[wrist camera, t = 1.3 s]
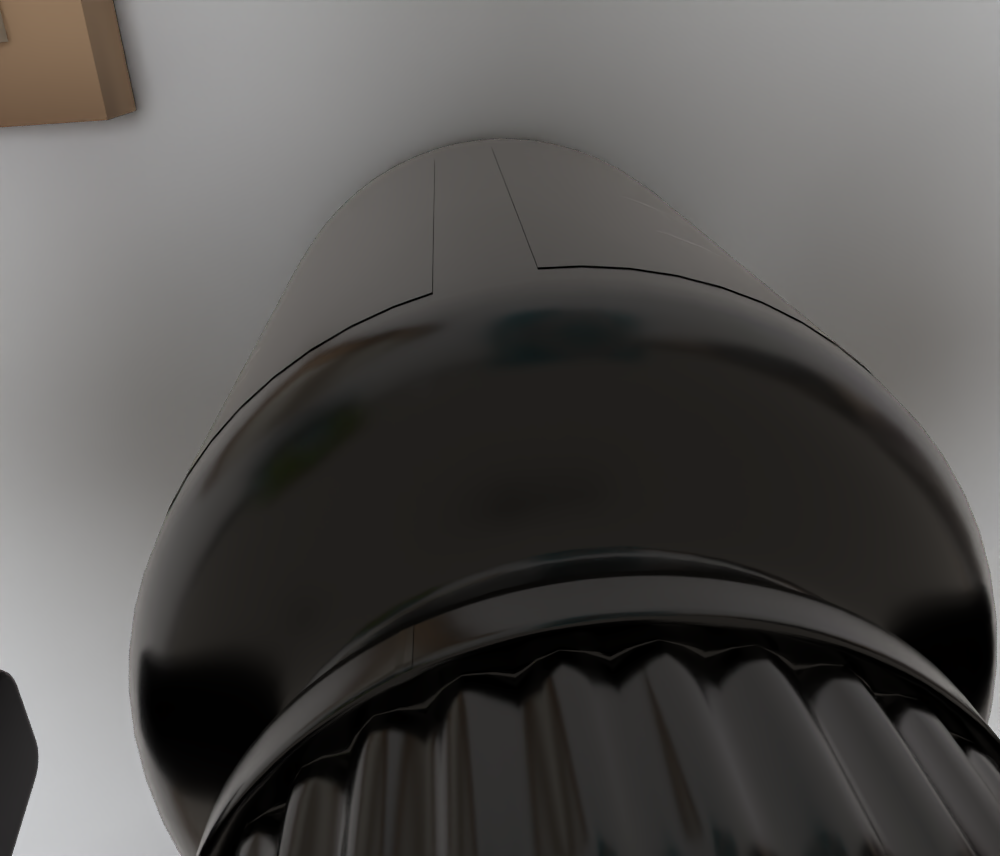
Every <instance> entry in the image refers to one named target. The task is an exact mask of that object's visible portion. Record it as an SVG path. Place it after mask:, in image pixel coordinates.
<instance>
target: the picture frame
mask: <svg viewBox="0 0 1000 856" xmlns="http://www.w3.org/2000/svg"><path fill="white" fill-rule="evenodd" d="M133 111H136V107H135V102H134V97H133V93H132V88H131V83H130V79H129V74H128V69H127V64H126V60H125V55H124V50H123V46H122V41H121V36H120V32H119V27H118V22H117V17H116V13H115V8H114V3H113V0H0V127H11V126H26V125H40V124H55V123H70V122H84V121H99V120H109V119H112V118H115V117H118V116H121V115H124V114H127V113H130V112H133Z"/></svg>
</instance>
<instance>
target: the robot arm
mask: <svg viewBox="0 0 1000 856" xmlns="http://www.w3.org/2000/svg"><path fill="white" fill-rule="evenodd" d="M37 768H38V747H37V743H36V739H35V736H34V733H33V730H32V728H31V725H30V722H29V719H28V716H27V713H26V710H25V707H24V704H23V702H22V699H21V696H20V693H19V690H18V687H17V685H16V682H15V680H14V679H13V677H12V676H11V675H10V674H9V673H7V672H5V671H3V670H0V856H12V853H13V850H14V847H15V844H16V840H17V837H18V834H19V830H20V827H21V824H22V821H23V817H24V814H25V811H26V807H27V804H28V801H29V798H30V794H31V791H32V788H33V784H34V781H35V778H36V774H37Z"/></svg>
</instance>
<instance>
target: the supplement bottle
mask: <svg viewBox="0 0 1000 856" xmlns="http://www.w3.org/2000/svg"><path fill="white" fill-rule="evenodd" d="M996 667H997V620H996V611H995V603H994V595H993V588H992V580H991V574H990V569H989V565H988V561H987V557H986V554H985V550H984V546H983V542H982V539H981V535H980V531H979V528H978V526H977V523H976V521H975V518H974V516H973V513H972V511H971V508H970V506H969V504H968V501H967V499H966V496H965V494H964V492H963V490H962V488H961V486H960V484H959V483H958V481H957V479H956V477H955V476H954V474H953V472H952V470H951V469H950V467H949V465H948V463H947V462H946V460H945V458H944V456H943V454H942V453H941V452H940V450H939V449H938V448H937V446H936V445H935V444H934V442H933V441H932V440H931V438H930V437H929V436H928V434H927V433H926V432H925V430H924V429H923V428H922V426H921V425H920V424H919V422H918V421H917V420H916V419H915V418H914V417H913V416H912V415H911V414H910V413H909V412H908V411H907V410H906V409H905V408H904V406H903V405H902V404H901V403H900V402H899V401H898V400H897V399H896V398H895V397H894V396H893V395H892V394H891V393H890V392H889V391H888V390H887V389H886V388H885V387H884V386H883V385H882V384H881V383H880V382H879V381H878V380H877V379H876V378H875V377H874V376H873V375H872V374H871V373H870V372H869V371H868V370H867V369H866V368H865V367H864V366H863V365H862V364H861V363H860V362H858V361H857V360H856V359H855V358H854V357H852V356H851V355H850V354H849V353H848V352H846V351H845V350H844V349H843V348H842V347H840V346H839V345H838V344H837V343H836V342H834V341H833V340H832V339H831V338H830V337H828V336H827V335H826V334H825V333H824V332H822V331H821V330H820V329H819V328H817V327H816V326H815V325H814V324H813V323H811V322H810V321H809V320H808V319H807V318H805V317H804V316H803V315H802V314H800V313H799V312H798V311H797V310H796V309H794V308H793V307H792V306H791V305H790V304H788V303H787V302H786V301H785V300H784V299H782V298H781V297H780V296H779V295H777V294H776V293H775V292H774V291H773V290H771V289H770V288H769V287H768V286H767V285H765V284H764V283H763V282H762V281H760V280H759V279H758V278H757V277H756V276H754V275H753V274H752V273H751V272H750V271H748V270H747V269H746V268H745V267H744V266H742V265H741V264H740V263H739V262H737V261H736V260H735V259H734V258H733V257H731V256H730V255H729V254H728V253H727V252H725V251H724V250H723V249H722V248H720V247H719V246H718V245H717V244H716V243H714V242H713V241H712V240H711V239H710V238H708V237H707V236H706V235H705V234H704V233H702V232H701V231H700V230H699V229H697V228H696V227H695V226H694V225H693V224H691V223H690V222H689V221H688V220H687V219H685V218H684V217H683V216H682V215H680V214H679V213H678V212H677V211H676V210H674V209H673V208H672V207H671V206H670V205H668V204H667V203H666V202H665V201H663V200H662V199H661V198H660V197H659V196H657V195H656V194H655V193H654V192H652V191H651V190H650V189H648V188H647V187H645V186H644V185H642V184H641V183H640V182H638V181H637V180H635V179H634V178H632V177H631V176H629V175H627V174H626V173H624V172H623V171H621V170H620V169H618V168H616V167H614V166H612V165H610V164H608V163H606V162H604V161H602V160H600V159H598V158H596V157H593V156H590V155H588V154H585V153H583V152H580V151H578V150H574V149H571V148H567V147H563V146H560V145H556V144H552V143H546V142H540V141H534V140H523V139H507V138H506V139H483V140H476V141H469V142H462V143H457V144H453V145H449V146H445V147H442V148H438V149H435V150H432V151H429V152H426V153H424V154H421V155H418V156H415V157H413V158H411V159H409V160H407V161H405V162H403V163H401V164H399V165H397V166H395V167H393V168H391V169H390V170H388V171H387V172H385V173H383V174H382V175H380V176H378V177H377V178H375V179H374V180H373V181H371V182H370V183H369V184H367V185H366V186H365V187H363V188H362V189H361V190H360V191H358V192H357V193H356V194H354V195H353V196H352V197H351V198H350V199H349V200H348V201H347V202H346V203H345V204H344V205H343V206H342V207H341V208H340V209H339V210H338V211H337V212H336V213H335V214H334V215H333V216H332V218H331V219H330V220H329V221H328V222H327V223H326V225H325V226H324V227H323V228H322V230H321V231H320V232H319V234H318V235H317V237H316V238H315V240H314V241H313V243H312V244H311V246H310V247H309V249H308V250H307V252H306V254H305V255H304V257H303V258H302V260H301V261H300V263H299V265H298V267H297V269H296V271H295V272H294V274H293V276H292V278H291V280H290V282H289V283H288V285H287V287H286V289H285V291H284V293H283V295H282V296H281V298H280V300H279V302H278V304H277V306H276V308H275V310H274V311H273V313H272V315H271V317H270V319H269V321H268V323H267V325H266V326H265V328H264V330H263V332H262V334H261V336H260V338H259V340H258V341H257V343H256V345H255V347H254V349H253V351H252V353H251V355H250V356H249V358H248V360H247V362H246V364H245V366H244V368H243V370H242V371H241V373H240V375H239V377H238V379H237V381H236V383H235V385H234V386H233V388H232V390H231V392H230V394H229V396H228V398H227V399H226V401H225V403H224V405H223V407H222V409H221V411H220V413H219V414H218V416H217V418H216V420H215V422H214V424H213V426H212V428H211V429H210V431H209V433H208V435H207V437H206V439H205V441H204V443H203V444H202V446H201V448H200V450H199V452H198V454H197V456H196V458H195V459H194V461H193V463H192V465H191V467H190V469H189V471H188V473H187V475H186V476H185V478H184V480H183V482H182V484H181V486H180V488H179V490H178V491H177V493H176V495H175V497H174V499H173V501H172V503H171V505H170V508H169V510H168V513H167V515H166V518H165V520H164V523H163V525H162V528H161V530H160V533H159V535H158V538H157V540H156V543H155V546H154V548H153V551H152V553H151V556H150V558H149V561H148V564H147V566H146V569H145V571H144V575H143V579H142V583H141V587H140V590H139V594H138V598H137V602H136V605H135V610H134V618H133V625H132V633H131V640H130V650H129V695H130V704H131V712H132V720H133V728H134V734H135V739H136V743H137V747H138V751H139V755H140V759H141V763H142V767H143V771H144V774H145V778H146V781H147V784H148V786H149V789H150V791H151V794H152V796H153V799H154V802H155V804H156V807H157V809H158V812H159V814H160V817H161V819H162V821H163V824H164V825H165V827H166V829H167V831H168V833H169V835H170V837H171V839H172V840H173V842H174V844H175V846H176V848H177V850H178V852H179V853H180V855H181V856H1000V739H999V738H998V737H997V736H996V734H995V733H994V732H993V731H992V729H991V728H990V727H989V726H988V721H989V717H990V712H991V707H992V701H993V693H994V685H995V676H996Z"/></svg>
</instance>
